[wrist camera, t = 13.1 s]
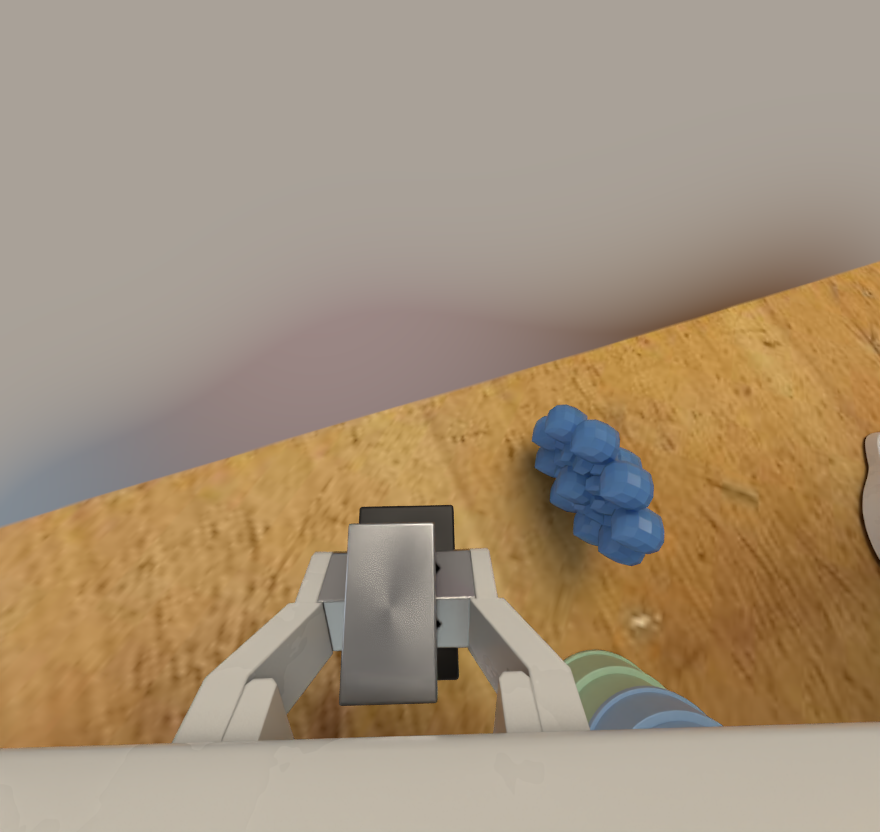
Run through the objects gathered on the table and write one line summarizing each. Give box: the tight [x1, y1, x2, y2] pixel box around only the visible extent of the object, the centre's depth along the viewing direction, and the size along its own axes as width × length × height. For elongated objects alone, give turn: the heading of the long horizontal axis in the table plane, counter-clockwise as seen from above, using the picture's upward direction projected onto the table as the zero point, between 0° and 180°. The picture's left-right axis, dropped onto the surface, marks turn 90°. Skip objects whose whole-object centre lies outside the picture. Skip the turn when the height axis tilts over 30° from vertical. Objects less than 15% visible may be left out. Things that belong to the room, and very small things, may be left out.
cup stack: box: [564, 650, 722, 730], centre depth 21 cm, size 9×9×13 cm
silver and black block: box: [339, 505, 459, 706], centre depth 11 cm, size 3×5×8 cm, turn 1°
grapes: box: [532, 405, 664, 566], centre depth 27 cm, size 12×7×12 cm, turn 21°
